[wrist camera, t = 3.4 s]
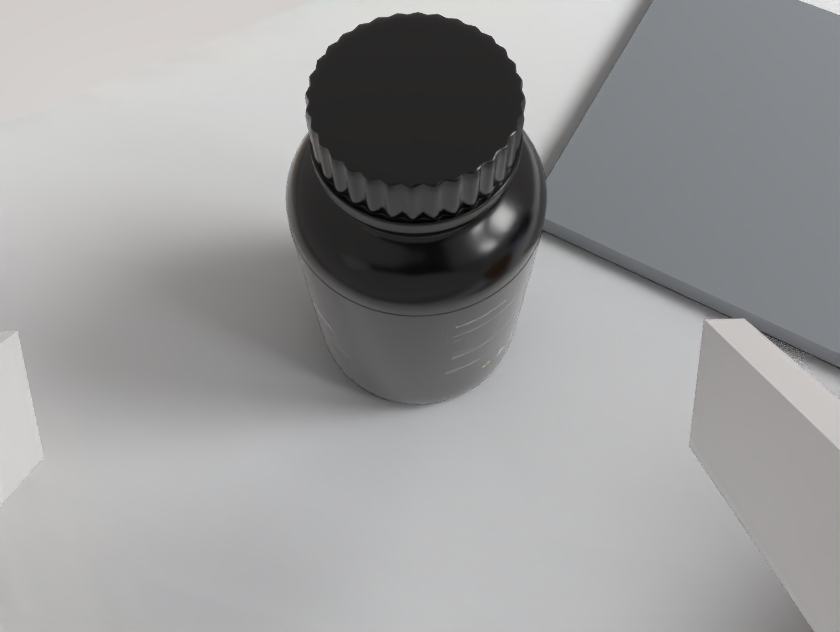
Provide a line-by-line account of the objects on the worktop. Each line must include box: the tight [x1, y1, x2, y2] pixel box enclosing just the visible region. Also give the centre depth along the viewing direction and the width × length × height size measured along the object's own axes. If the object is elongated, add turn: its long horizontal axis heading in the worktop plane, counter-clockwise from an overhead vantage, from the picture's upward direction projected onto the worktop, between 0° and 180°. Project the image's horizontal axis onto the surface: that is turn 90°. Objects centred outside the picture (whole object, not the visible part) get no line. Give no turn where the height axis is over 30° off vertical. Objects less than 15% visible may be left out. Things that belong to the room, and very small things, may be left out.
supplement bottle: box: [286, 12, 547, 404], centre depth 22 cm, size 7×7×12 cm
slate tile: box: [543, 0, 840, 368], centre depth 30 cm, size 15×15×1 cm
